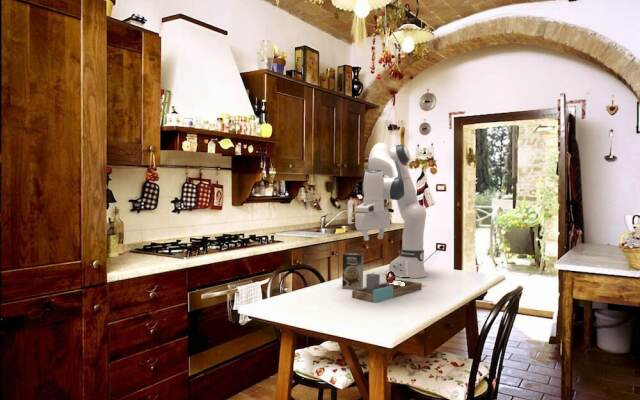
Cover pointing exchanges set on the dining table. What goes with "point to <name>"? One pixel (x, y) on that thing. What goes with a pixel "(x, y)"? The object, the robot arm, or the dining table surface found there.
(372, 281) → the tall grey block
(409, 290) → the rack
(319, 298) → the dining table surface
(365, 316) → the dining table surface
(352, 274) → the coffee box
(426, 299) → the dining table surface
